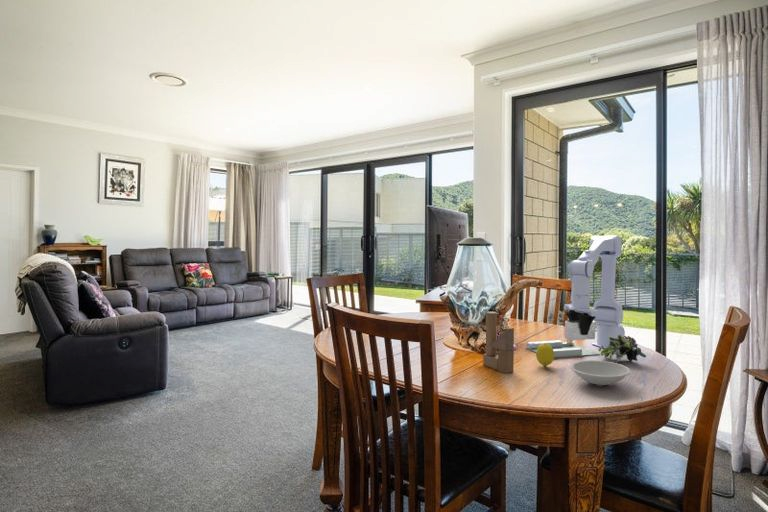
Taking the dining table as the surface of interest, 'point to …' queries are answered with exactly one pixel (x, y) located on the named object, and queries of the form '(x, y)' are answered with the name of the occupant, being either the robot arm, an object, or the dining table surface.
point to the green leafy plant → (622, 348)
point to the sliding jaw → (552, 343)
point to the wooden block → (498, 346)
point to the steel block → (578, 331)
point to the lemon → (545, 354)
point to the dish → (600, 371)
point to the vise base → (584, 351)
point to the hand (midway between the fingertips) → (580, 333)
